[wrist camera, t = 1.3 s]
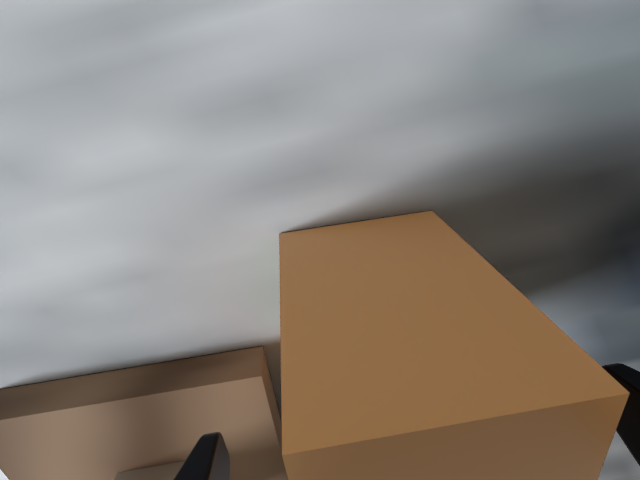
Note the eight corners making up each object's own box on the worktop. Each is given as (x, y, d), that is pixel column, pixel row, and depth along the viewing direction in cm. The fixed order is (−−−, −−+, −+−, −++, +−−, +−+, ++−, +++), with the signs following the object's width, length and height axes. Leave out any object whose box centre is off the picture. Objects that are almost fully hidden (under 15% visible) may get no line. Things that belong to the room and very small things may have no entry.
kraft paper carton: (431, 210, 12) (629, 392, 5) (429, 330, 14) (565, 565, 8) (279, 233, 12) (281, 455, 5) (300, 351, 14) (322, 614, 7)
